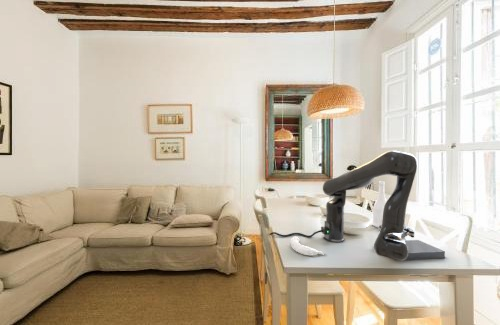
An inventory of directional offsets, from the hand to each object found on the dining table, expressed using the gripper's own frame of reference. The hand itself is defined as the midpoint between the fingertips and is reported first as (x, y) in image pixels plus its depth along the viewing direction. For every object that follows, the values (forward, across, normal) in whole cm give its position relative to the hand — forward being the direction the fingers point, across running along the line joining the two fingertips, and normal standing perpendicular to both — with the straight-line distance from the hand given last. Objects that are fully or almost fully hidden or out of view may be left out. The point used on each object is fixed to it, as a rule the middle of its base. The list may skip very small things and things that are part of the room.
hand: (397, 226), depth 109 cm
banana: (-25, +36, +12) cm, 46 cm away
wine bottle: (+40, +12, +12) cm, 43 cm away
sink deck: (+1, -4, +12) cm, 13 cm away
